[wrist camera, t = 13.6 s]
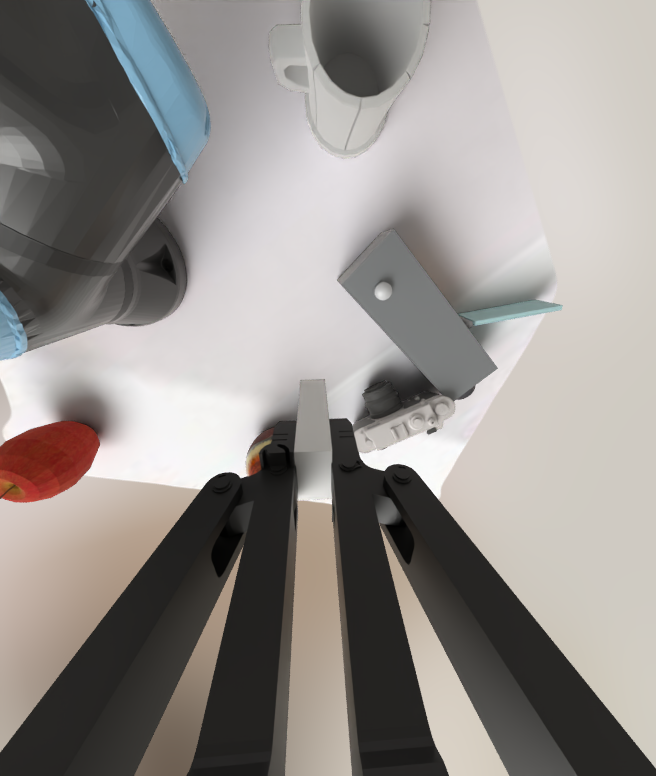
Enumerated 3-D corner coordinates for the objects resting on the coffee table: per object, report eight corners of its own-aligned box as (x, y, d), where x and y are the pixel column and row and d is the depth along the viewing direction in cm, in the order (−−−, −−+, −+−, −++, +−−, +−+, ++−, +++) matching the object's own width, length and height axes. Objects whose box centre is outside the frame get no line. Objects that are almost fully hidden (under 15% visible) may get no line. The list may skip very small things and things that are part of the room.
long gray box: (336, 280, 36) (341, 285, 30) (381, 231, 34) (397, 226, 28) (439, 391, 45) (458, 412, 39) (480, 359, 43) (508, 376, 37)
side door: (535, 298, 38) (563, 303, 34) (533, 306, 39) (560, 312, 35) (448, 314, 39) (465, 321, 34) (448, 322, 39) (465, 330, 35)
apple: (74, 396, 42) (-26, 455, 29) (128, 436, 46) (60, 504, 34) (36, 427, 44) (-72, 494, 32) (91, 463, 48) (14, 535, 36)
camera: (441, 410, 46) (468, 422, 35) (358, 446, 47) (360, 467, 37) (420, 362, 45) (440, 360, 35) (337, 400, 47) (333, 408, 37)
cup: (322, 188, 31) (328, 154, 21) (274, 99, 28) (250, 1, 17) (400, 124, 29) (451, 48, 18) (358, 17, 25) (392, -155, 15)
